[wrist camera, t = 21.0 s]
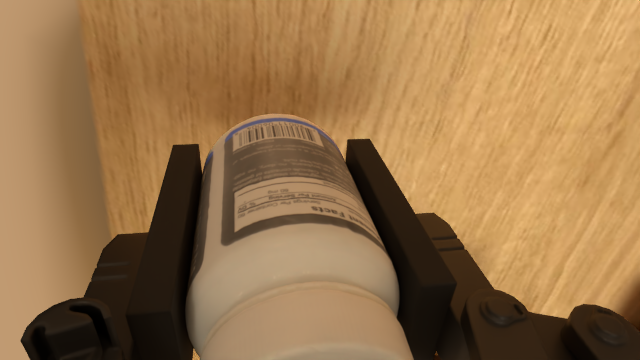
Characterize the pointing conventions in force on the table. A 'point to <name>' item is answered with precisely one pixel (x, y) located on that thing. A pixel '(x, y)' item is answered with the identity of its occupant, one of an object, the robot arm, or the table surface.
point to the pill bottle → (288, 253)
